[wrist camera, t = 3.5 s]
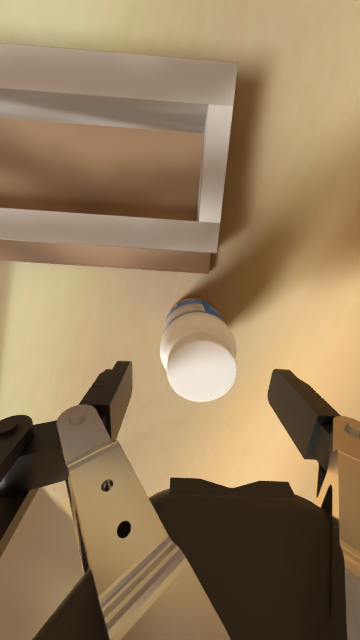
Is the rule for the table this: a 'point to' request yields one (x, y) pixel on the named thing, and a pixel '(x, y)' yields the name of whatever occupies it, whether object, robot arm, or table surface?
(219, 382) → the pill bottle
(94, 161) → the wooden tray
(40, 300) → the table surface
